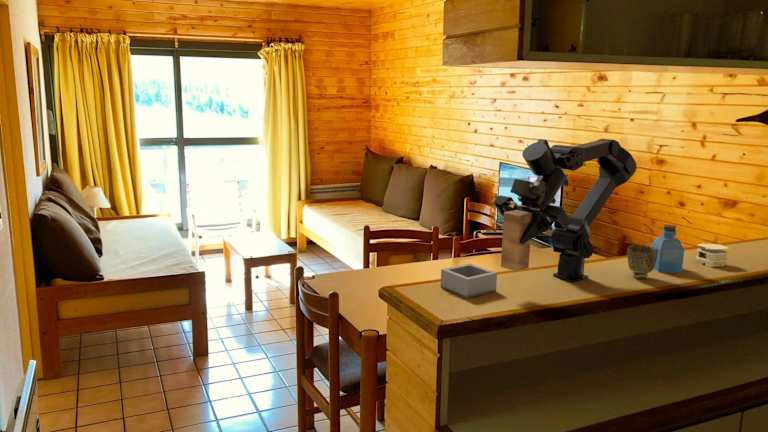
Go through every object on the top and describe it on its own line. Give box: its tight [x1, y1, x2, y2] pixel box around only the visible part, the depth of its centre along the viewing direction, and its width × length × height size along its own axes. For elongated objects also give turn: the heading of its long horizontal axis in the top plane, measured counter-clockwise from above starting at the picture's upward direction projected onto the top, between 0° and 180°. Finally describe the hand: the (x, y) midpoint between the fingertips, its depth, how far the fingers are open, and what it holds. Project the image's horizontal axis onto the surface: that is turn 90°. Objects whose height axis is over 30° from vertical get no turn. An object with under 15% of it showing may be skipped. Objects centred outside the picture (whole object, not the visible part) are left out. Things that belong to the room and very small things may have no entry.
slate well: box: [440, 262, 498, 300], centre depth 151 cm, size 9×9×5 cm
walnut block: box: [500, 210, 532, 272], centre depth 144 cm, size 4×4×13 cm
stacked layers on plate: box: [695, 243, 730, 268], centre depth 175 cm, size 10×9×6 cm
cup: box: [626, 244, 659, 280], centre depth 161 cm, size 8×7×8 cm
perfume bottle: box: [650, 224, 685, 274], centre depth 169 cm, size 6×6×12 cm
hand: (512, 240), depth 144 cm, fingers closed on walnut block, 4 cm apart
